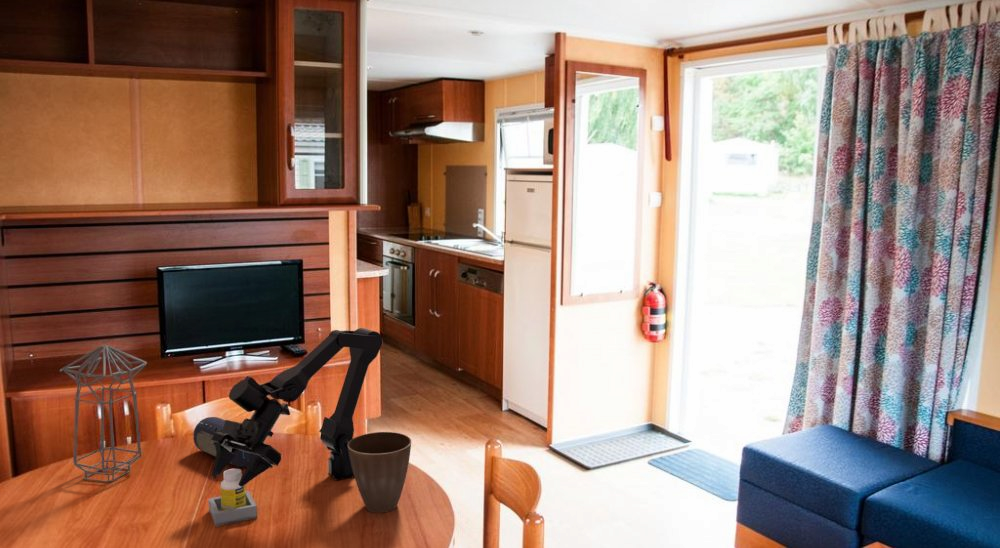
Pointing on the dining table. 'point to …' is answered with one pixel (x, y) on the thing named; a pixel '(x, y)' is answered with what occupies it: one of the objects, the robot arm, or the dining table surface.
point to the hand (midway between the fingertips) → (226, 481)
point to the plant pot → (380, 468)
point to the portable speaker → (204, 443)
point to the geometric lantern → (95, 357)
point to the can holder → (232, 511)
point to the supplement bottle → (232, 490)
